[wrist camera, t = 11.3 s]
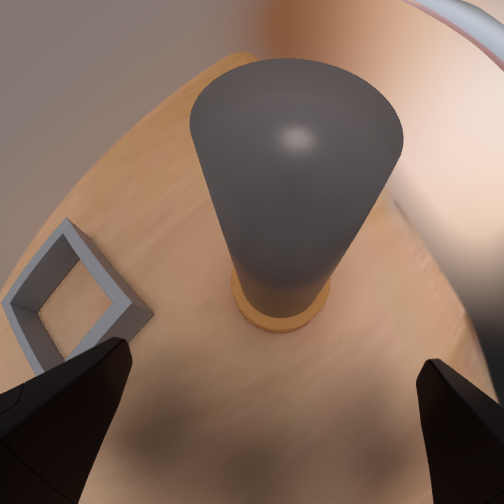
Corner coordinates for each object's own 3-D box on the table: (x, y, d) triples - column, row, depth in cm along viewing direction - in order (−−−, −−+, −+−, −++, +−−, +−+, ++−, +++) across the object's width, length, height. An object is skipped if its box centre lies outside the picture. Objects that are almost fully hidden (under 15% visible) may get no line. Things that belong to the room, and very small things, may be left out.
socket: (79, 398, 14) (50, 399, 11) (27, 312, 16) (1, 302, 13) (154, 313, 16) (132, 302, 13) (88, 236, 18) (66, 217, 15)
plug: (260, 348, 15) (232, 293, 3) (221, 271, 17) (139, 91, 5) (338, 305, 16) (470, 165, 4) (295, 234, 17) (324, 39, 6)
